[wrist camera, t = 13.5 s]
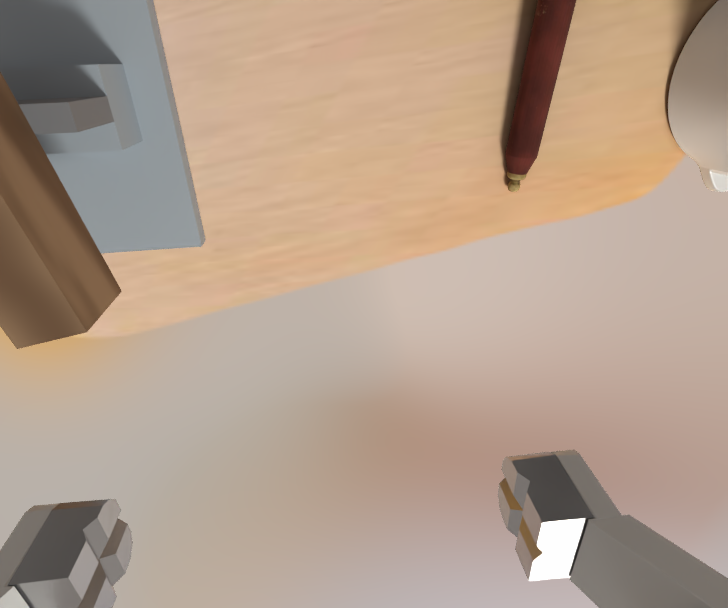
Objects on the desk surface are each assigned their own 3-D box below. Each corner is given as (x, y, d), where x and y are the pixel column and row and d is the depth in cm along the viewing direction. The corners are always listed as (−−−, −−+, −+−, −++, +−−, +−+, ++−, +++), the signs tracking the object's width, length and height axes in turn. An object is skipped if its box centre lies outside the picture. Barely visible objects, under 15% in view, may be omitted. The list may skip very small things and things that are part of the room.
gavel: (580, 201, 37) (463, 199, 36) (555, 184, 41) (449, 182, 40) (690, -146, 26) (527, -164, 25) (642, -125, 30) (498, -139, 29)
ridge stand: (132, -92, 28) (43, -168, 19) (205, 240, 38) (171, 295, 29) (-105, -87, 27) (-322, -165, 18) (36, 251, 38) (-54, 312, 28)
